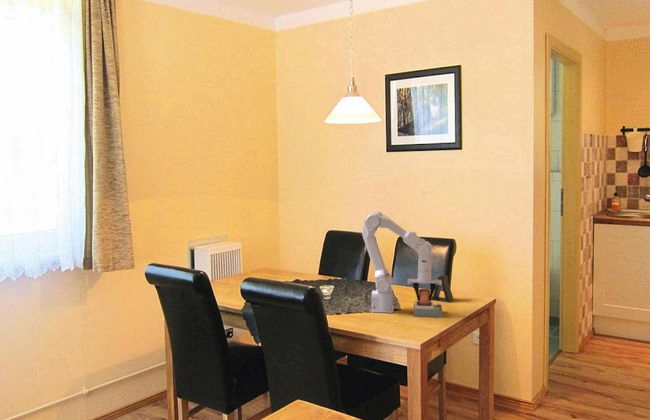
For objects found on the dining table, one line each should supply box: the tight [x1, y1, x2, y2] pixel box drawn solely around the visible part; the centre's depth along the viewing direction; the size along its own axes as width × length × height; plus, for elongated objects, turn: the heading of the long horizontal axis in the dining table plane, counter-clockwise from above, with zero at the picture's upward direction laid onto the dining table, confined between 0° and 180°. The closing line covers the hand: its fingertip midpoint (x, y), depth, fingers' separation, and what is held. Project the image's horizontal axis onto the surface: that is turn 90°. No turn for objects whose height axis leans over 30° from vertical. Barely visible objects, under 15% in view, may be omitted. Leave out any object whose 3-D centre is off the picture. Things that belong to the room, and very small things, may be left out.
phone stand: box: [431, 273, 454, 303], centre depth 268 cm, size 9×6×12 cm, turn 60°
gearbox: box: [413, 300, 443, 318], centre depth 245 cm, size 12×9×4 cm
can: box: [419, 288, 431, 306], centre depth 245 cm, size 5×5×7 cm
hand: (424, 300), depth 245 cm, fingers closed on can, 5 cm apart
